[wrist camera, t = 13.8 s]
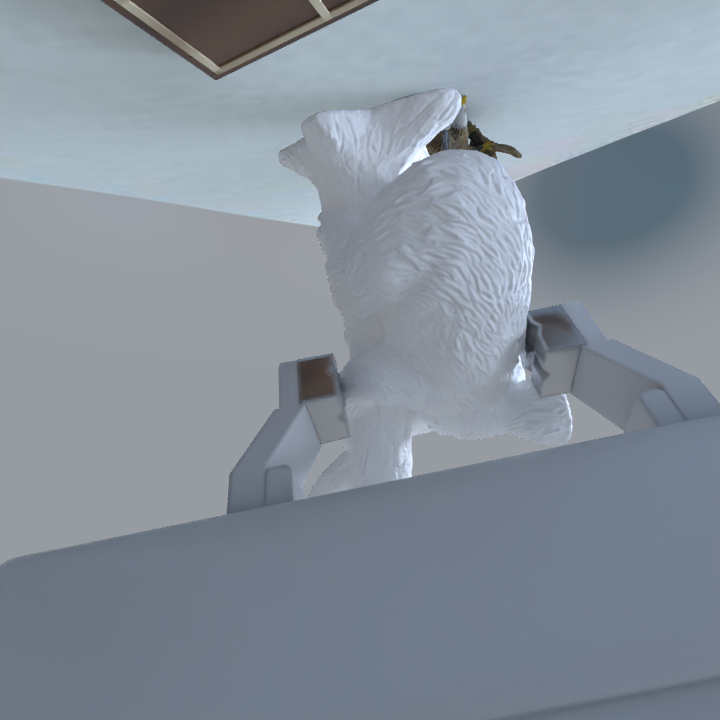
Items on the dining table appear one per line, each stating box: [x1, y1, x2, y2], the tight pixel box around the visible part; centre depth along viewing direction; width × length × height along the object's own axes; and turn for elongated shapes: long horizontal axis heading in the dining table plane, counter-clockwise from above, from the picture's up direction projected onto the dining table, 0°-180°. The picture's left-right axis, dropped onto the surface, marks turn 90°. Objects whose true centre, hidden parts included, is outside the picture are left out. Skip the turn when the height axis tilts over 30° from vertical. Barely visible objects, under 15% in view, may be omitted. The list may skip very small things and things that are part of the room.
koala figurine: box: [279, 88, 573, 498], centre depth 15 cm, size 8×7×12 cm
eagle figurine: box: [426, 96, 522, 159], centre depth 38 cm, size 8×7×9 cm
